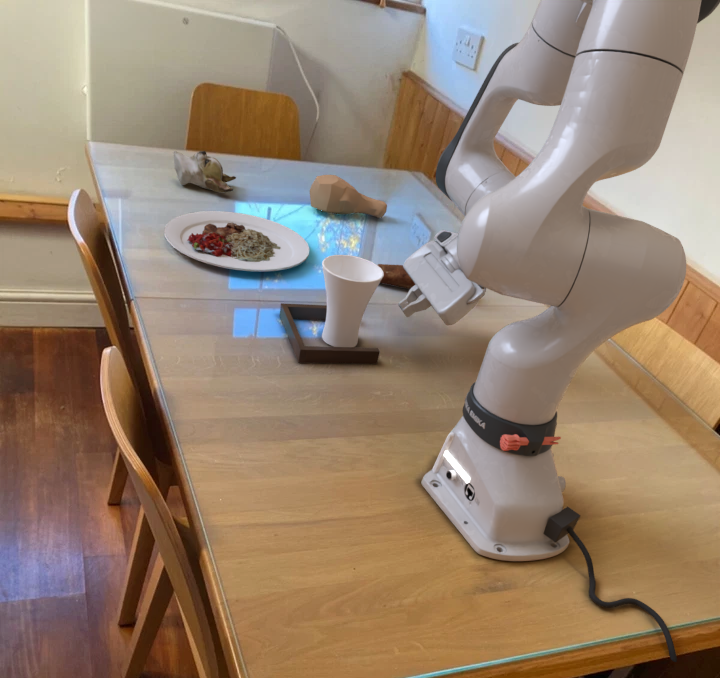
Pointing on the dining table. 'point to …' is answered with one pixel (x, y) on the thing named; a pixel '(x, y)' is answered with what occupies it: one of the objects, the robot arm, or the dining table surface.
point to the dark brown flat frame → (316, 352)
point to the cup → (347, 296)
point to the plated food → (236, 241)
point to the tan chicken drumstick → (342, 198)
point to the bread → (396, 276)
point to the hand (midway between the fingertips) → (402, 311)
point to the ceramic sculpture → (201, 171)
